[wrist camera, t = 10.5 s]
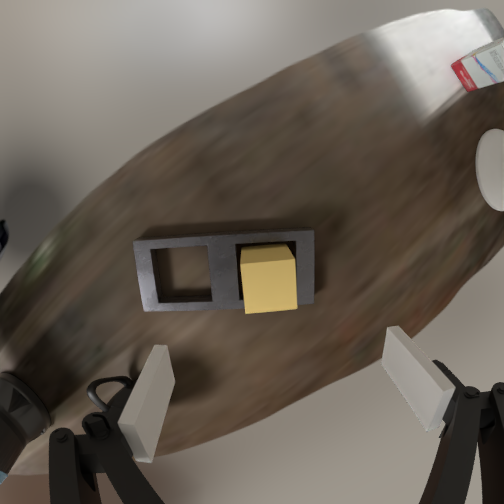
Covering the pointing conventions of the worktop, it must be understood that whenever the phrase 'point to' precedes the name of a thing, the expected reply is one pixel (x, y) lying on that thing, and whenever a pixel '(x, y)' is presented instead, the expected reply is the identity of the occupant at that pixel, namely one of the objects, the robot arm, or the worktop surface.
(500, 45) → the ink box
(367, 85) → the worktop surface
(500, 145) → the candlestick
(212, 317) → the worktop surface
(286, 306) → the yellow block
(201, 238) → the frame with square openings
